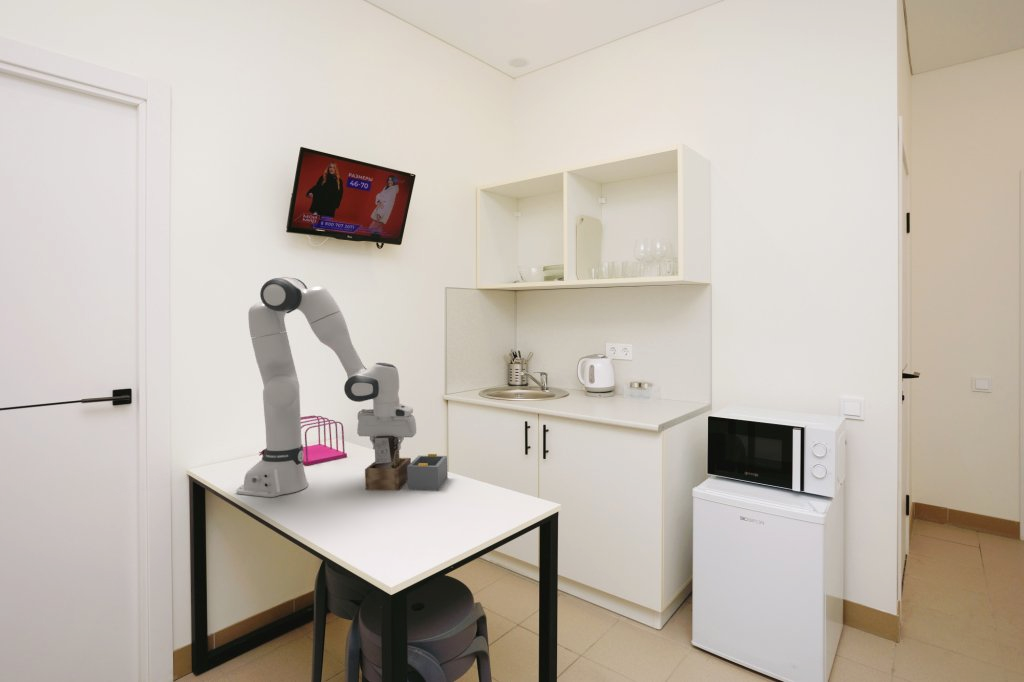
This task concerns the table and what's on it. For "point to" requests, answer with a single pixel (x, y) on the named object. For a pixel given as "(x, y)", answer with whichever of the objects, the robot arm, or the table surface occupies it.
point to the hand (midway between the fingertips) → (387, 449)
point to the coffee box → (386, 452)
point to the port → (427, 472)
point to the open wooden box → (387, 476)
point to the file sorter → (320, 451)
